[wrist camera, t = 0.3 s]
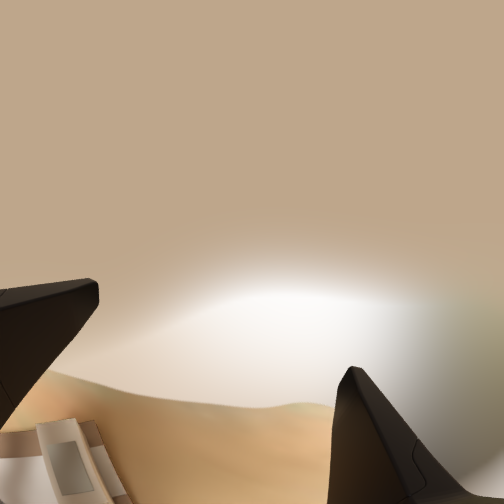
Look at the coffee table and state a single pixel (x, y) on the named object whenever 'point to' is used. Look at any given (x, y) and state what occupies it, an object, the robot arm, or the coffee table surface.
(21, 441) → the board
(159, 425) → the coffee table surface
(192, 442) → the coffee table surface
